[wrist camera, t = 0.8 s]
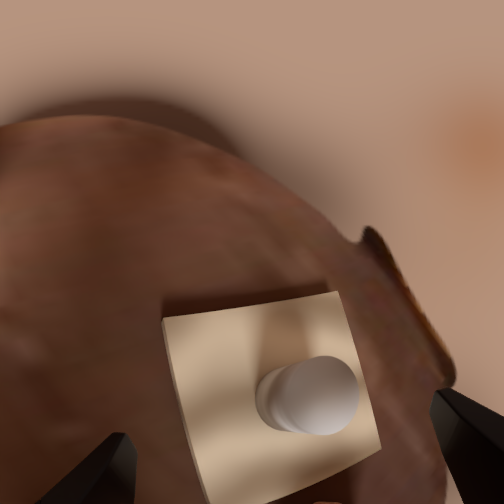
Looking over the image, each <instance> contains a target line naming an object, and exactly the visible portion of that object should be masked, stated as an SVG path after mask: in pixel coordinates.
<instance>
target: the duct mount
mask: <svg viewBox="0 0 504 504" xmlns="http://www.w3.org/2000/svg"><path fill="white" fill-rule="evenodd" d="M161 325H162V330H163V336H164V341H165V346H166V351H167V356H168V361H169V366H170V371H171V375H172V380H173V384H174V388H175V393H176V397H177V401H178V405H179V409H180V413H181V417H182V421H183V425H184V429H185V433H186V436H187V440H188V444H189V447H190V451H191V454H192V458H193V461H194V464H195V468H196V471H197V474H198V477H199V481H200V484H201V487H202V490H203V493H204V496H205V499H206V502H207V504H265V503H268V502H271V501H273V500H276V499H279V498H281V497H284V496H287V495H289V494H292V493H294V492H296V491H299V490H301V489H304V488H306V487H308V486H310V485H313V484H315V483H317V482H319V481H321V480H324V479H326V478H328V477H330V476H332V475H334V474H336V473H338V472H340V471H342V470H344V469H346V468H348V467H350V466H352V465H353V464H355V463H357V462H359V461H361V460H363V459H364V458H366V457H368V456H370V455H371V454H373V453H375V452H377V451H378V450H380V449H381V444H380V440H379V436H378V432H377V427H376V423H375V419H374V415H373V411H372V407H371V403H370V399H369V396H368V392H367V388H366V384H365V381H364V377H363V373H362V370H361V366H360V363H359V359H358V356H357V352H356V349H355V345H354V342H353V339H352V335H351V332H350V329H349V325H348V322H347V319H346V316H345V312H344V309H343V306H342V303H341V300H340V297H339V293H338V291H335V292H330V293H324V294H319V295H313V296H307V297H302V298H296V299H290V300H284V301H278V302H272V303H266V304H260V305H253V306H247V307H240V308H233V309H226V310H220V311H212V312H205V313H198V314H190V315H182V316H174V317H166V318H163V320H162V322H161Z"/></svg>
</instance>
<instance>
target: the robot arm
mask: <svg viewBox="0 0 504 504" xmlns="http://www.w3.org/2000/svg"><path fill="white" fill-rule="evenodd" d="M429 413H430V417H431V420H432V423H433V426H434V429H435V432H436V435H437V438H438V442H439V445H440V448H441V451H442V454H443V456H444V459H445V461H446V463H447V466H448V468H449V470H450V472H451V474H452V477H453V479H454V481H455V484H456V486H457V489H458V491H459V493H460V496H461V498H462V501H463V503H464V504H504V416H501V415H500V414H498V413H496V412H494V411H492V410H490V409H488V408H487V407H485V406H483V405H481V404H479V403H477V402H475V401H474V400H472V399H470V398H468V397H466V396H464V395H462V394H461V393H459V392H457V391H455V390H453V389H451V388H449V387H444V388H441V389H438V390H436V391H435V392H434V395H433V399H432V402H431V405H430V409H429ZM137 456H138V455H137V450H136V448H135V446H134V444H133V443H132V441H131V440H130V438H129V436H128V435H127V434H126V433H121V432H114V433H112V434H110V435H109V436H108V437H107V438H106V439H105V440H104V441H103V442H102V443H101V444H100V445H99V446H98V447H97V448H96V449H95V450H93V451H92V452H91V453H90V454H89V455H88V456H87V457H86V458H85V459H84V460H83V461H82V462H81V463H79V464H78V465H77V466H76V467H75V468H74V469H73V470H72V471H71V472H70V473H69V474H67V475H66V476H65V477H64V478H63V479H62V480H61V481H60V482H59V483H58V484H56V485H55V486H54V487H53V488H52V489H51V490H50V491H49V492H47V493H46V494H45V495H44V496H43V497H42V498H41V500H38V501H37V502H36V503H35V504H134V498H135V486H136V470H137Z"/></svg>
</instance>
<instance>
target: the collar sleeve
mask: <svg viewBox="0 0 504 504" xmlns="http://www.w3.org/2000/svg"><path fill="white" fill-rule="evenodd" d="M313 504H341V503H338V502H315V503H313Z"/></svg>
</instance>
